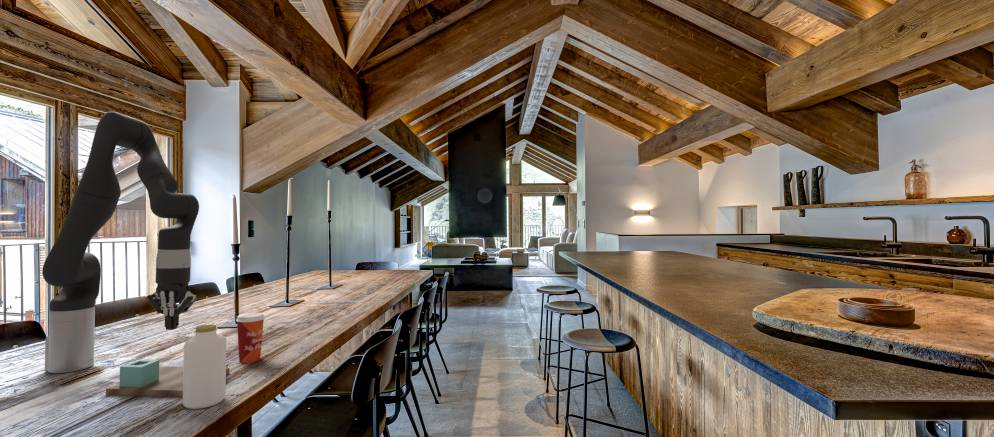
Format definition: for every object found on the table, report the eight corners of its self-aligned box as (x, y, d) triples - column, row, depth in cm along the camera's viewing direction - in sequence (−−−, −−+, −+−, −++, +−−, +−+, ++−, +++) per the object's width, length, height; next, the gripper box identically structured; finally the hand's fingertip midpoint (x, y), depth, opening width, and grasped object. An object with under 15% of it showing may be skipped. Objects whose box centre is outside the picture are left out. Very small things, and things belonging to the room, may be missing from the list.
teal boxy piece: (119, 386, 103) (119, 366, 103) (138, 378, 109) (139, 359, 109) (140, 387, 103) (141, 367, 103) (158, 379, 109) (159, 359, 109)
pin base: (105, 394, 102) (106, 370, 102) (160, 371, 118) (160, 350, 118) (185, 396, 102) (185, 372, 102) (229, 373, 118) (229, 351, 118)
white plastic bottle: (197, 395, 102) (198, 322, 102) (232, 395, 103) (234, 322, 103) (173, 411, 94) (175, 331, 94) (212, 410, 95) (214, 331, 95)
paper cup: (250, 365, 124) (251, 318, 124) (228, 363, 126) (229, 316, 126) (270, 357, 132) (270, 312, 132) (249, 355, 133) (250, 311, 133)
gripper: (137, 266, 110) (135, 331, 110) (186, 267, 110) (184, 333, 110) (161, 263, 118) (159, 325, 118) (207, 264, 117) (205, 326, 117)
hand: (171, 329), depth 114 cm, fingers closed
